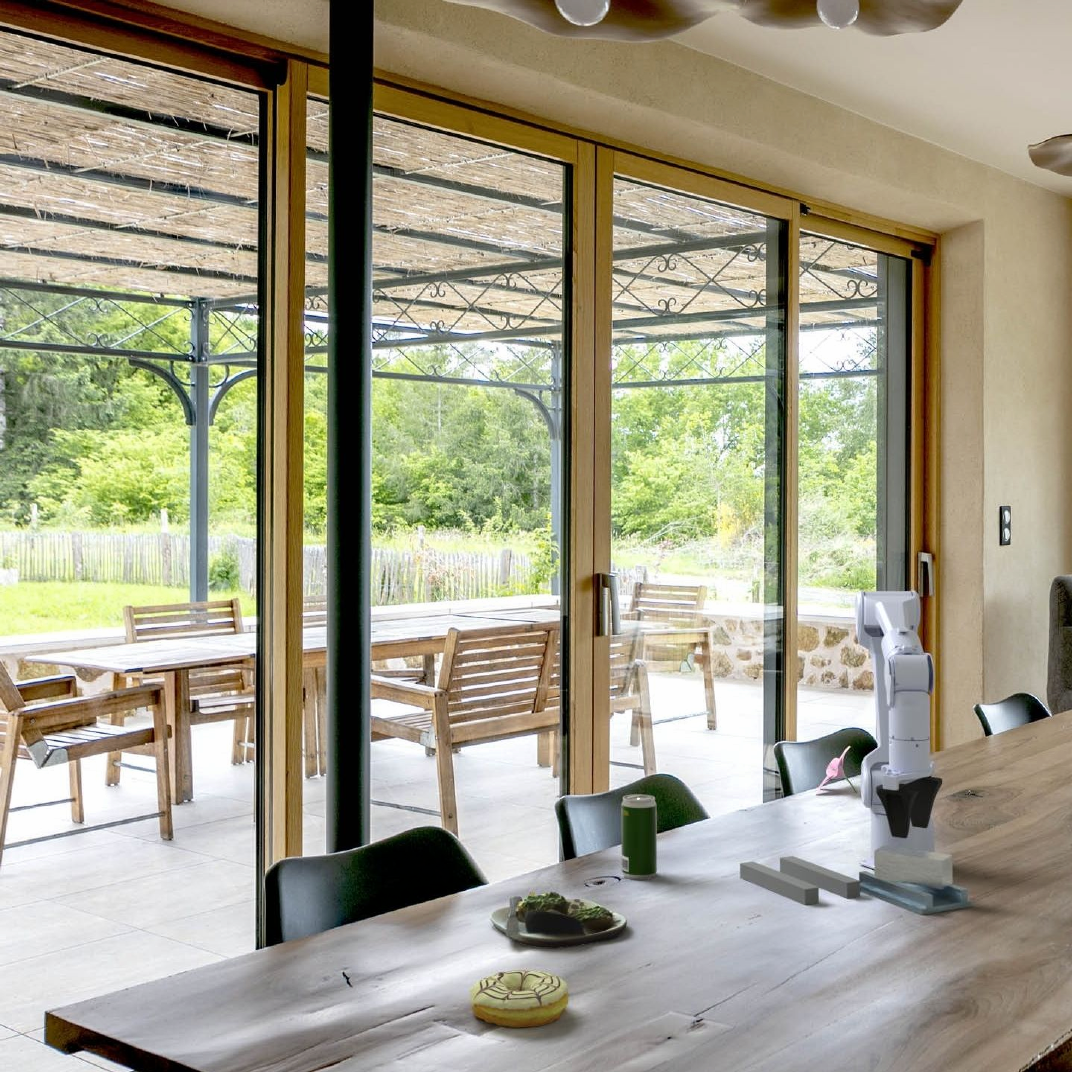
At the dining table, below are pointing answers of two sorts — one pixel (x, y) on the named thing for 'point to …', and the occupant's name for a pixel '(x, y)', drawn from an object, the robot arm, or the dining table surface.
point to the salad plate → (557, 921)
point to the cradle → (915, 895)
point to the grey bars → (800, 880)
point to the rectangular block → (913, 866)
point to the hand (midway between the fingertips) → (909, 832)
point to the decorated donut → (519, 998)
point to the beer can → (639, 836)
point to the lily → (836, 770)
